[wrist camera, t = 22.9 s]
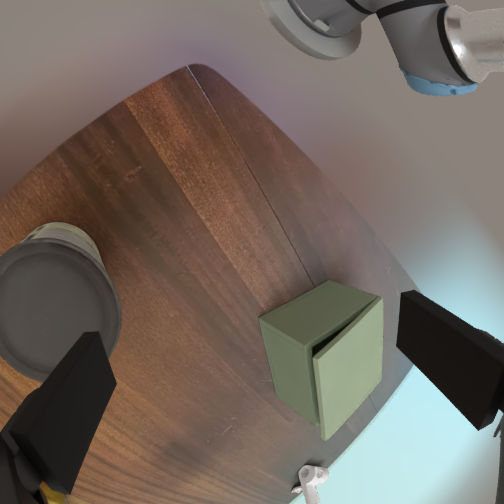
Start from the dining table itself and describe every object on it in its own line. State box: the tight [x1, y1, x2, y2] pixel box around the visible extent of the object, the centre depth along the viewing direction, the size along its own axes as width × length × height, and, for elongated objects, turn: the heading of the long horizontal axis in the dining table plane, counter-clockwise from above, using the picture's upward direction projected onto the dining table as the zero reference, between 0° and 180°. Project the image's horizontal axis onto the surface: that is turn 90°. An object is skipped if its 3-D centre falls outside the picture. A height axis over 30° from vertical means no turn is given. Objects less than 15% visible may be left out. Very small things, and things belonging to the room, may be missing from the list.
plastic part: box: [291, 465, 329, 504], centre depth 54 cm, size 8×10×12 cm
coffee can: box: [0, 222, 121, 382], centre depth 22 cm, size 10×10×14 cm
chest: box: [258, 280, 378, 427], centre depth 45 cm, size 14×16×10 cm
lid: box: [313, 296, 383, 441], centre depth 39 cm, size 15×16×1 cm
